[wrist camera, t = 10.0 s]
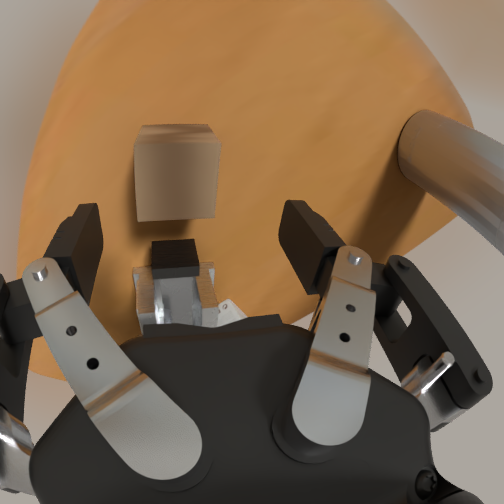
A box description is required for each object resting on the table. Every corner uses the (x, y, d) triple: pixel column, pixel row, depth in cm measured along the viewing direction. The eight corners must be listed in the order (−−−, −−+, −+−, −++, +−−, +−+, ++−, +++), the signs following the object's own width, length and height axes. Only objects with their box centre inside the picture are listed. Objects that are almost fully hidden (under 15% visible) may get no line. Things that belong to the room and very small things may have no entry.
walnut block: (207, 124, 19) (221, 143, 15) (202, 182, 22) (214, 217, 18) (142, 125, 18) (133, 144, 13) (143, 184, 21) (137, 221, 16)
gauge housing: (212, 262, 28) (225, 306, 23) (209, 329, 34) (219, 369, 30) (133, 267, 25) (131, 314, 21) (147, 335, 32) (150, 376, 27)
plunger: (194, 238, 23) (204, 284, 19) (193, 313, 29) (202, 357, 24) (128, 242, 21) (123, 290, 17) (142, 317, 27) (144, 363, 23)
